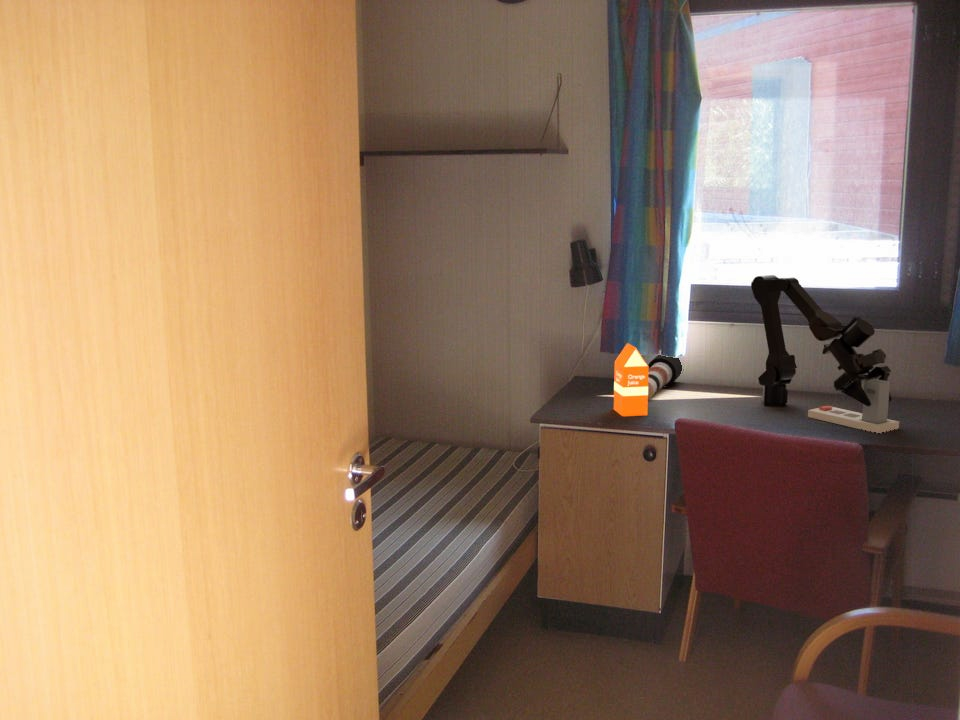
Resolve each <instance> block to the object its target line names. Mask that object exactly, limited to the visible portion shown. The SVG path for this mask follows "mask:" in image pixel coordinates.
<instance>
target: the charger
mask: <svg viewBox="0 0 960 720" xmlns="http://www.w3.org/2000/svg"><path fill="white" fill-rule="evenodd" d="M863 382H864V383H863V384H864V385H863V390H864V392H865V393H866V395H867V397H868V398H869V400H870V402H871V405H870V406H869V407H868V406H866V405H864V404H863V403H862V412H861V413H862V421H865V422H869V423H873V424H882V423H886V422H887V419H888V414H889V403H890V402H889V392H890V386H891V381H888V380H887V381H883V380H878V379H872V380H867V381H863Z"/></svg>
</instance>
